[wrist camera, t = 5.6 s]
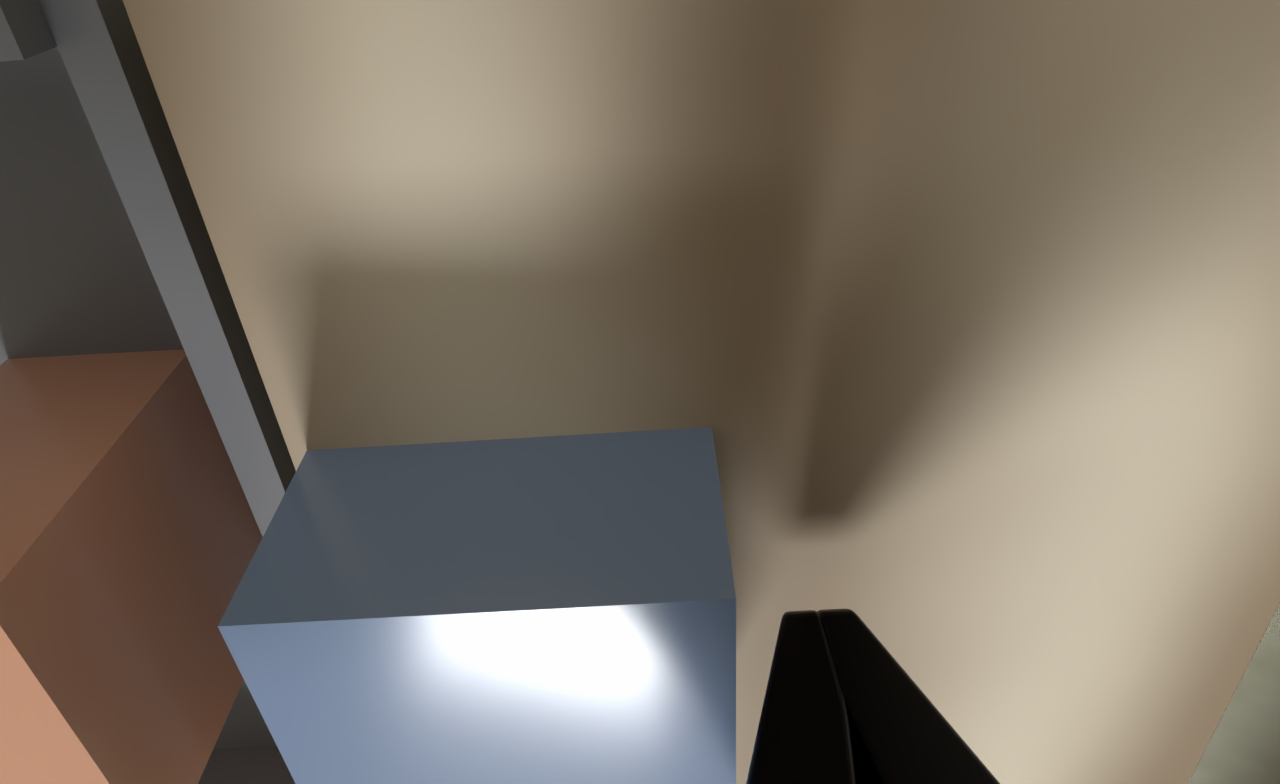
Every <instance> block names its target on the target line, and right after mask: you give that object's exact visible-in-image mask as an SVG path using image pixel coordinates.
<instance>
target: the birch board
mask: <svg viewBox="0 0 1280 784" xmlns="http://www.w3.org/2000/svg"><path fill="white" fill-rule="evenodd" d="M123 3H124V6H125V8H126V11H127V14H128V16H129V19H130V22H131V25H132V27H133V30H134V33H135V35H136V38H137V41H138V44H139V46H140V49H141V52H142V54H143V57H144V60H145V63H146V65H147V68H148V71H149V73H150V76H151V79H152V82H153V84H154V87H155V90H156V92H157V95H158V98H159V101H160V103H161V106H162V109H163V111H164V114H165V117H166V120H167V122H168V125H169V128H170V130H171V133H172V136H173V139H174V141H175V144H176V147H177V149H178V152H179V155H180V158H181V160H182V163H183V166H184V168H185V171H186V174H187V177H188V179H189V182H190V185H191V187H192V190H193V193H194V196H195V198H196V201H197V204H198V206H199V209H200V212H201V215H202V217H203V220H204V223H205V225H206V228H207V231H208V234H209V236H210V239H211V242H212V244H213V247H214V250H215V253H216V255H217V258H218V261H219V263H220V266H221V269H222V272H223V274H224V277H225V280H226V282H227V285H228V288H229V291H230V293H231V296H232V299H233V301H234V304H235V307H236V310H237V312H238V315H239V318H240V320H241V323H242V326H243V329H244V331H245V334H246V337H247V339H248V342H249V345H250V348H251V350H252V353H253V356H254V358H255V361H256V364H257V367H258V369H259V372H260V375H261V377H262V380H263V383H264V386H265V388H266V391H267V394H268V396H269V399H270V402H271V405H272V407H273V410H274V413H275V415H276V418H277V421H278V424H279V426H280V429H281V432H282V434H283V437H284V440H285V443H286V445H287V448H288V451H289V453H290V456H291V459H292V462H293V464H294V467H295V470H296V471H297V469H298V467H299V465H300V463H301V461H302V459H303V457H304V455H305V453H306V451H307V450H323V449H340V448H357V447H375V446H392V445H409V444H426V443H444V442H461V441H478V440H495V439H513V438H530V437H547V436H564V435H582V434H599V433H616V432H633V431H650V430H668V429H685V428H702V427H712V430H713V437H714V444H715V452H716V459H717V466H718V473H719V480H720V487H721V494H722V502H723V509H724V516H725V523H726V530H727V537H728V544H729V551H730V559H731V566H732V573H733V580H734V587H735V594H736V784H746V781H747V777H748V772H749V767H750V763H751V758H752V753H753V749H754V744H755V739H756V735H757V730H758V726H759V721H760V716H761V712H762V707H763V702H764V698H765V693H766V688H767V684H768V679H769V674H770V670H771V665H772V660H773V656H774V651H775V646H776V642H777V637H778V633H779V628H780V623H781V619H782V616H783V614H784V613H785V612H788V611H804V610H815V611H819V610H824V609H843V608H846V609H850V610H852V611H854V612H855V613H856V614H857V615H858V616H859V617H860V619H861V620H862V621H863V622H864V623H865V624H866V626H867V627H868V628H869V629H870V630H871V632H872V633H873V634H874V635H875V636H876V637H877V639H878V640H879V641H880V642H881V643H882V645H883V646H884V647H885V648H886V649H887V650H888V652H889V653H890V654H891V655H892V656H893V658H894V659H895V660H896V661H897V662H898V663H899V665H900V666H901V667H902V668H903V669H904V670H905V672H906V673H907V674H908V675H909V676H910V678H911V679H912V680H913V681H914V682H915V683H916V685H917V686H918V687H919V688H920V689H921V691H922V692H923V693H924V694H925V695H926V696H927V698H928V699H929V700H930V701H931V702H932V704H933V705H934V706H935V707H936V708H937V709H938V711H939V712H940V713H941V714H942V715H943V717H944V718H945V719H946V720H947V721H948V722H949V724H950V725H951V726H952V727H953V728H954V730H955V731H956V732H957V733H958V734H959V735H960V737H961V738H962V739H963V740H964V741H965V743H966V744H967V745H968V746H969V747H970V748H971V750H972V751H973V752H974V753H975V754H976V756H977V757H978V758H979V759H980V760H981V761H982V763H983V764H984V765H985V766H986V767H987V769H988V770H989V771H990V772H991V773H992V774H993V776H994V777H995V778H996V779H997V780H998V781H999V783H1000V784H1188V783H1189V781H1190V779H1191V777H1192V775H1193V773H1194V771H1195V769H1196V767H1197V765H1198V763H1199V761H1200V759H1201V757H1202V755H1203V753H1204V751H1205V749H1206V747H1207V745H1208V743H1209V741H1210V739H1211V738H1212V736H1213V734H1214V732H1215V730H1216V728H1217V726H1218V724H1219V722H1220V720H1221V718H1222V716H1223V714H1224V712H1225V710H1226V708H1227V706H1228V704H1229V702H1230V700H1231V698H1232V696H1233V694H1234V692H1235V690H1236V688H1237V686H1238V684H1239V682H1240V680H1241V678H1242V676H1243V674H1244V672H1245V670H1246V668H1247V667H1248V665H1249V663H1250V661H1251V659H1252V657H1253V655H1254V653H1255V651H1256V649H1257V647H1258V645H1259V643H1260V641H1261V639H1262V637H1263V635H1264V633H1265V631H1266V629H1267V627H1268V625H1269V623H1270V621H1271V619H1272V617H1273V615H1274V613H1275V611H1276V609H1277V607H1278V605H1279V603H1280V0H123Z"/></svg>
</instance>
